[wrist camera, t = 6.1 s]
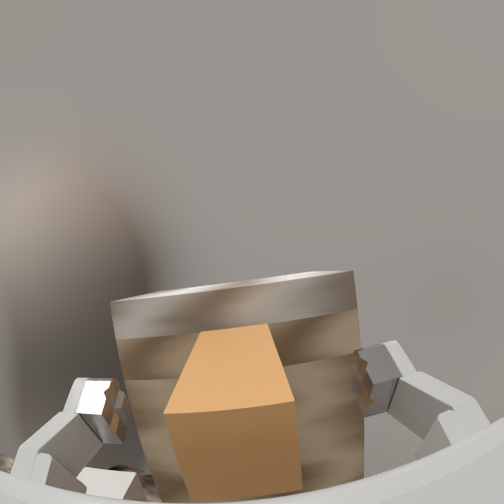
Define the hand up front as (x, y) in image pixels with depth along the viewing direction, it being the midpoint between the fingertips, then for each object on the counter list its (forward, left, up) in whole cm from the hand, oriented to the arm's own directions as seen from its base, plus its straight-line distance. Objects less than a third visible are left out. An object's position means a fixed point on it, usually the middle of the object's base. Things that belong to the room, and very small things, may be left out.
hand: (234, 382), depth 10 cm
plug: (0, +3, -2) cm, 4 cm away
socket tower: (0, +10, -26) cm, 28 cm away
